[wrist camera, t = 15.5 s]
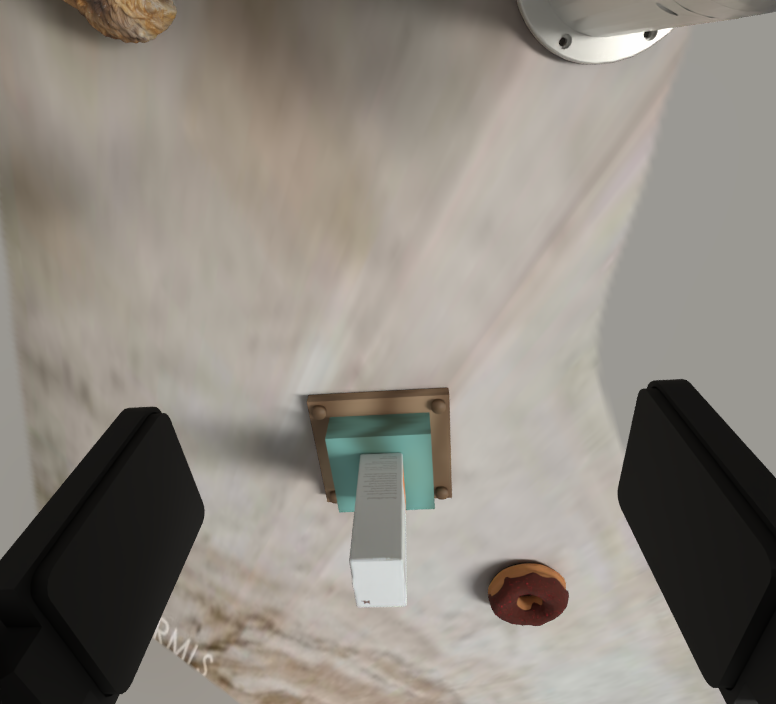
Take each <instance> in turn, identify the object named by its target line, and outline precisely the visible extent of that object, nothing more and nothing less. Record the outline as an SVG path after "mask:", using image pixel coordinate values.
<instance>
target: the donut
mask: <svg viewBox="0 0 776 704" xmlns="http://www.w3.org/2000/svg"><path fill="white" fill-rule="evenodd" d="M526 594H530V595H531V596H522V595H526ZM488 595H489V596H488V598H489V601H490V605H491V608H492V610H493V612H494V613H495V615H497V616H498V617H499V618H501V619H502V620H504V621H506V622H509V623H511V624H516V625H517V624H519V625H522V626H523V625H532V626H541V625H543V624H545V623H547V622H548V621H551V620H554V619H555V618H556V617H558V616H559V615H560V614H562V613H563V611H564V609H565V608H566V607H567V604H568V598H569V593H568V591H567V590H566V583H565V580H564V578H563V577H562V576H561V575H560V574H559V573H557V572H556V571H554V570H553V569H551V568H549V567H547V566H544V565H541V564H530V563H527V564H518V565H514V566H511V567H508V568H506V569H504V570H502V571H501V572H499V573H498V574H497V575H496V576H495V578H494V579H493V580H492V582H491V583H490V585H489V588H488Z"/></svg>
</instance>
